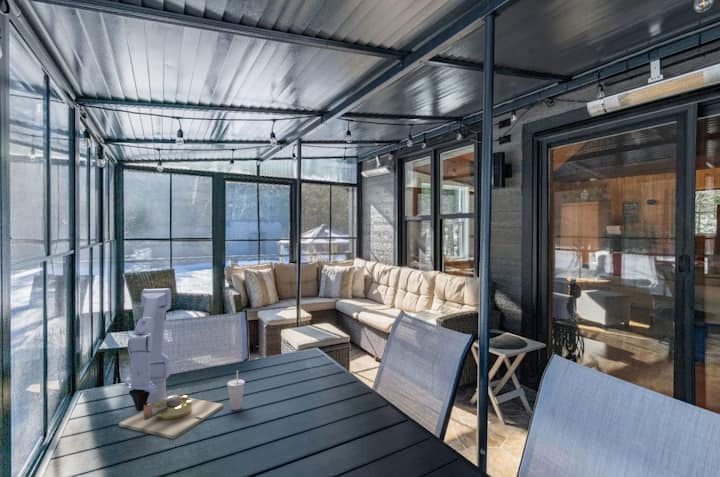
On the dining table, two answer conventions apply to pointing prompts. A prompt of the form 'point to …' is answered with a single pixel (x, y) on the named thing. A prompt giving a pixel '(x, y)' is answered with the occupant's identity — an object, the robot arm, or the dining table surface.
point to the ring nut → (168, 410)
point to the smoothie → (236, 392)
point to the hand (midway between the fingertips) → (140, 410)
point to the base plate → (172, 427)
